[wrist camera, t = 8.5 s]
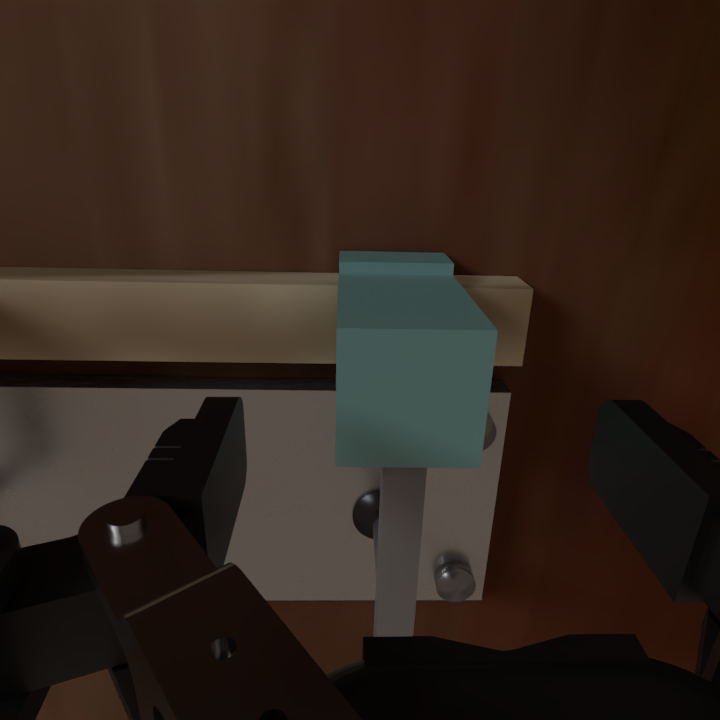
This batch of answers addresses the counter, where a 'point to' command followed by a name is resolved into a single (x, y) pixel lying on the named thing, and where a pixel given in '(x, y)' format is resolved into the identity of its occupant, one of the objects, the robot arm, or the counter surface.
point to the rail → (206, 315)
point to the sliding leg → (407, 399)
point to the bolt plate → (263, 479)
